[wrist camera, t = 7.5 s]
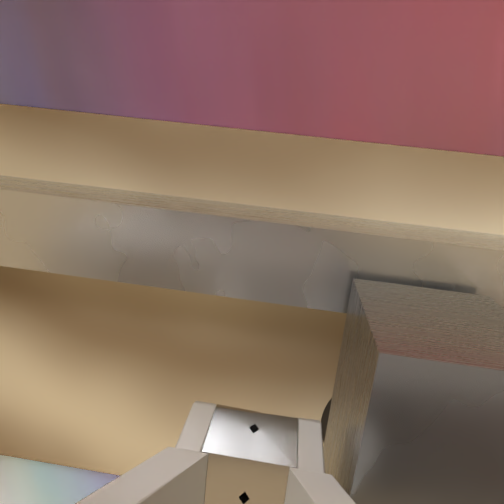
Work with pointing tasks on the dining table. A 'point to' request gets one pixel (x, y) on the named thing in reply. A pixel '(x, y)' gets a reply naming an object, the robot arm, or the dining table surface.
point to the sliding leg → (418, 397)
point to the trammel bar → (233, 246)
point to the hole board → (190, 303)
